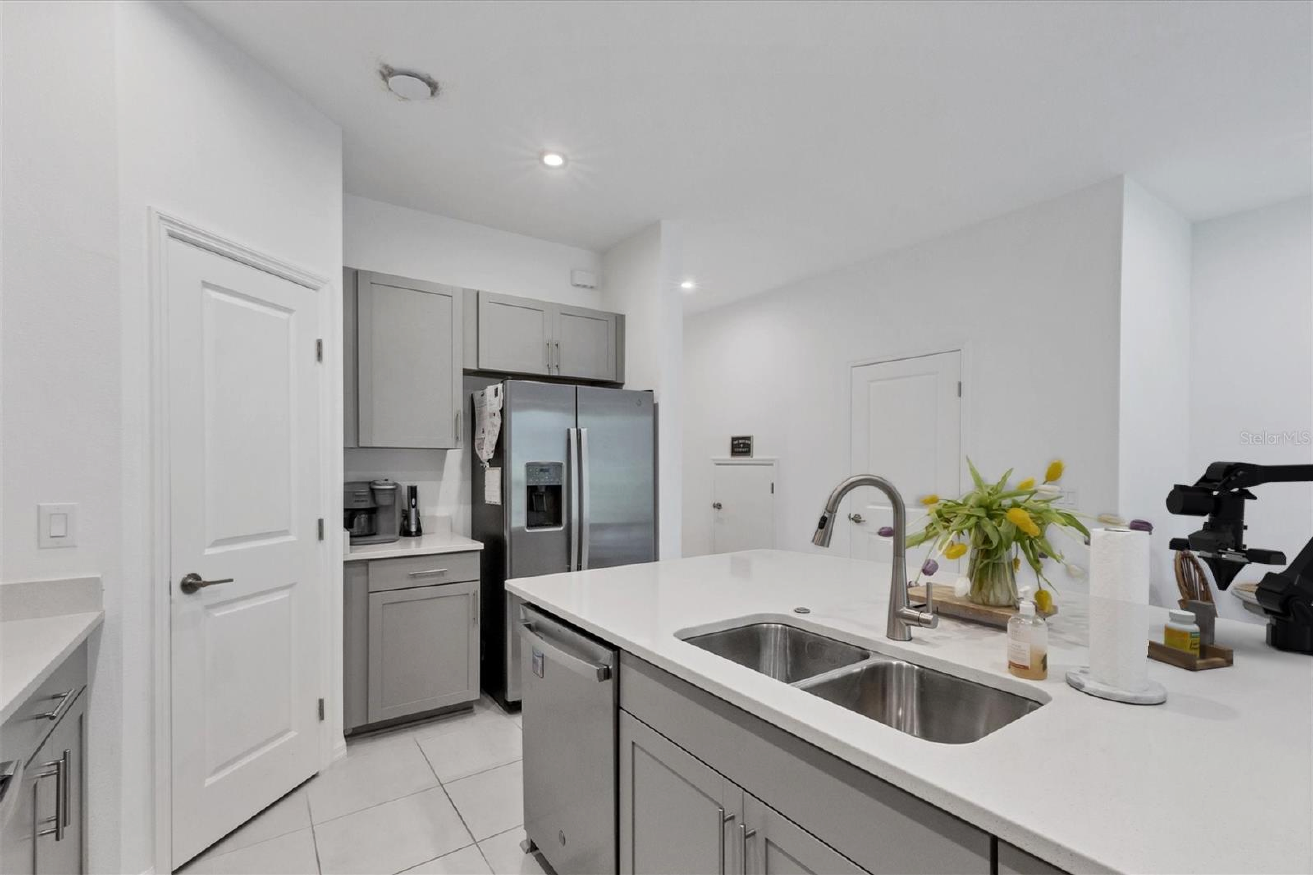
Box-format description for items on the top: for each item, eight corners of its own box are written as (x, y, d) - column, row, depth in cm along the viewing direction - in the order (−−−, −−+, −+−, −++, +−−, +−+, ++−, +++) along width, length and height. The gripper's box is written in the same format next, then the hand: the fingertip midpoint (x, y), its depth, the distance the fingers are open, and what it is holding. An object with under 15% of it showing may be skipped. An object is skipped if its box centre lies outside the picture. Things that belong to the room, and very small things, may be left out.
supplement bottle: (1169, 653, 126) (1170, 607, 126) (1203, 661, 122) (1204, 613, 122) (1159, 658, 123) (1160, 610, 124) (1193, 666, 119) (1194, 617, 119)
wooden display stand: (1176, 648, 130) (1177, 596, 130) (1233, 664, 120) (1234, 608, 120) (1136, 652, 126) (1137, 599, 126) (1192, 670, 116) (1193, 612, 116)
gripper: (1153, 512, 140) (1150, 580, 140) (1254, 523, 122) (1250, 601, 122) (1187, 514, 144) (1183, 581, 143) (1289, 525, 126) (1286, 601, 125)
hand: (1222, 590), depth 133 cm, fingers closed
